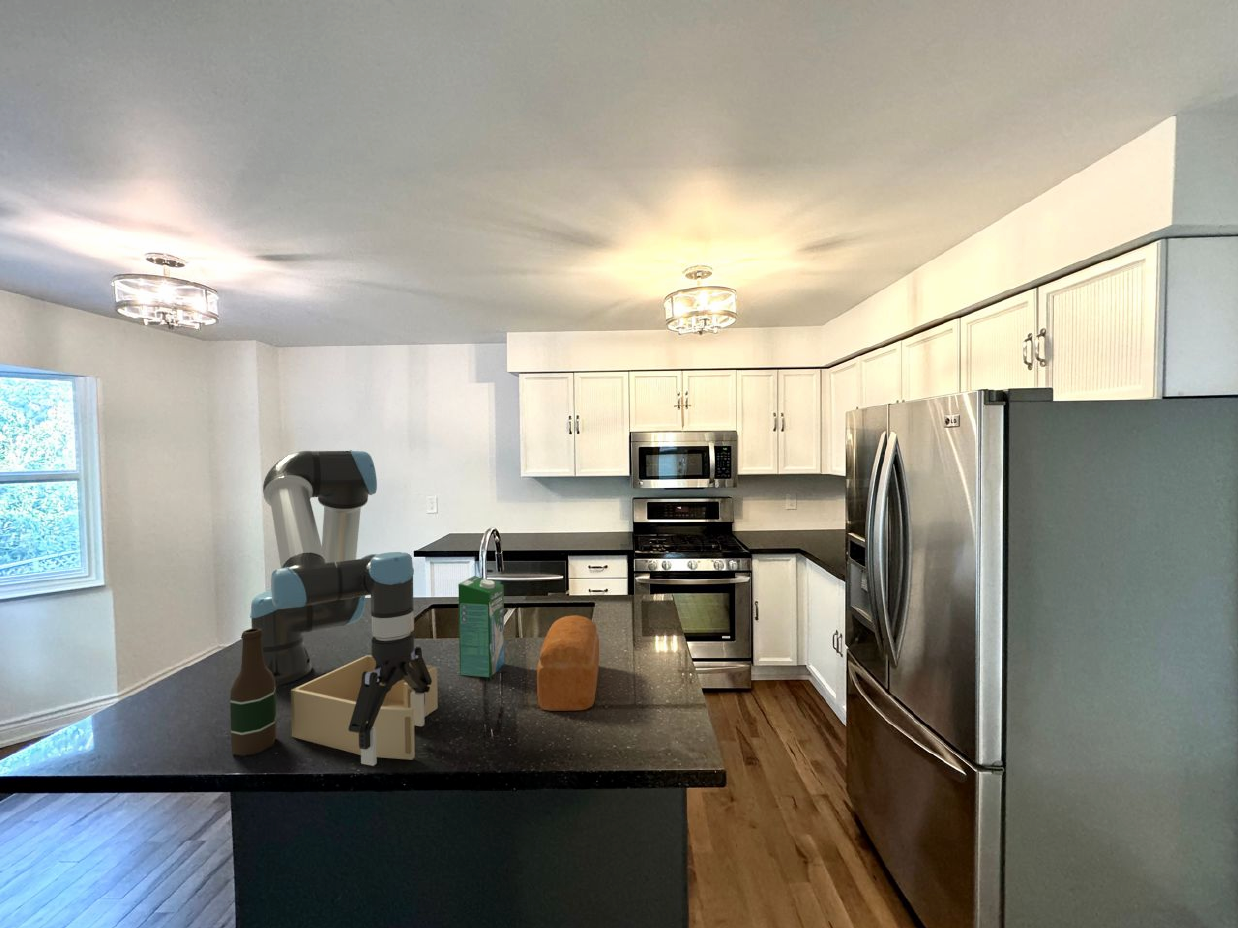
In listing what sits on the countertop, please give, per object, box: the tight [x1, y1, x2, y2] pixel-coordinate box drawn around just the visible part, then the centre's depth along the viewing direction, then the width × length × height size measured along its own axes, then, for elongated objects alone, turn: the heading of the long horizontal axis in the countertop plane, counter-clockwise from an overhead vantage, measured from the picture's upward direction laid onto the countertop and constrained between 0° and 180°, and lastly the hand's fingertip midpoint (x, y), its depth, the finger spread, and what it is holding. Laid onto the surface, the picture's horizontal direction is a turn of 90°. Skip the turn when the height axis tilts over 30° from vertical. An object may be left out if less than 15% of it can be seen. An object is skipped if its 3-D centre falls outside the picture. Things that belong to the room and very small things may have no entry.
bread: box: [536, 614, 600, 712], centre depth 130 cm, size 14×26×16 cm, turn 179°
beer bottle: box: [229, 628, 278, 757], centre depth 104 cm, size 8×8×24 cm
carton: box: [290, 654, 434, 756], centre depth 113 cm, size 20×20×10 cm
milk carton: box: [457, 575, 505, 678], centre depth 140 cm, size 9×9×25 cm
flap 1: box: [367, 706, 416, 761], centre depth 99 cm, size 1×9×10 cm, turn 83°
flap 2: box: [403, 666, 439, 718], centre depth 114 cm, size 1×9×10 cm, turn 159°
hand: (394, 742), depth 98 cm, fingers open, 13 cm apart
